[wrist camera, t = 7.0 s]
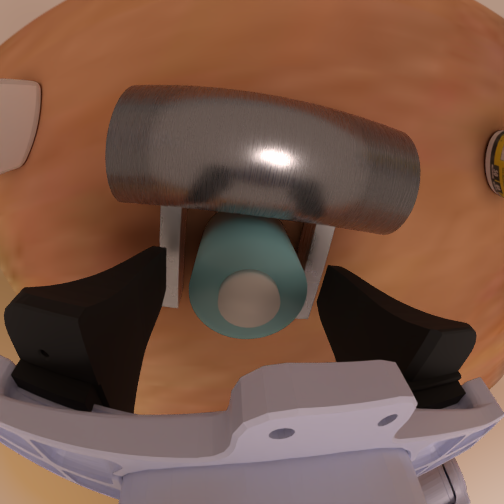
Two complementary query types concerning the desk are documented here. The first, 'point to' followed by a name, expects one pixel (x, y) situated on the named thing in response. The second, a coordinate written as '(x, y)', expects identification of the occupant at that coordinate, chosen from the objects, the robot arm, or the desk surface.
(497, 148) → the supplement bottle
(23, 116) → the eye dropper bottle
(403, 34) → the desk surface
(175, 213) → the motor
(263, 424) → the robot arm
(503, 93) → the desk surface
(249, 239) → the teal cylinder
